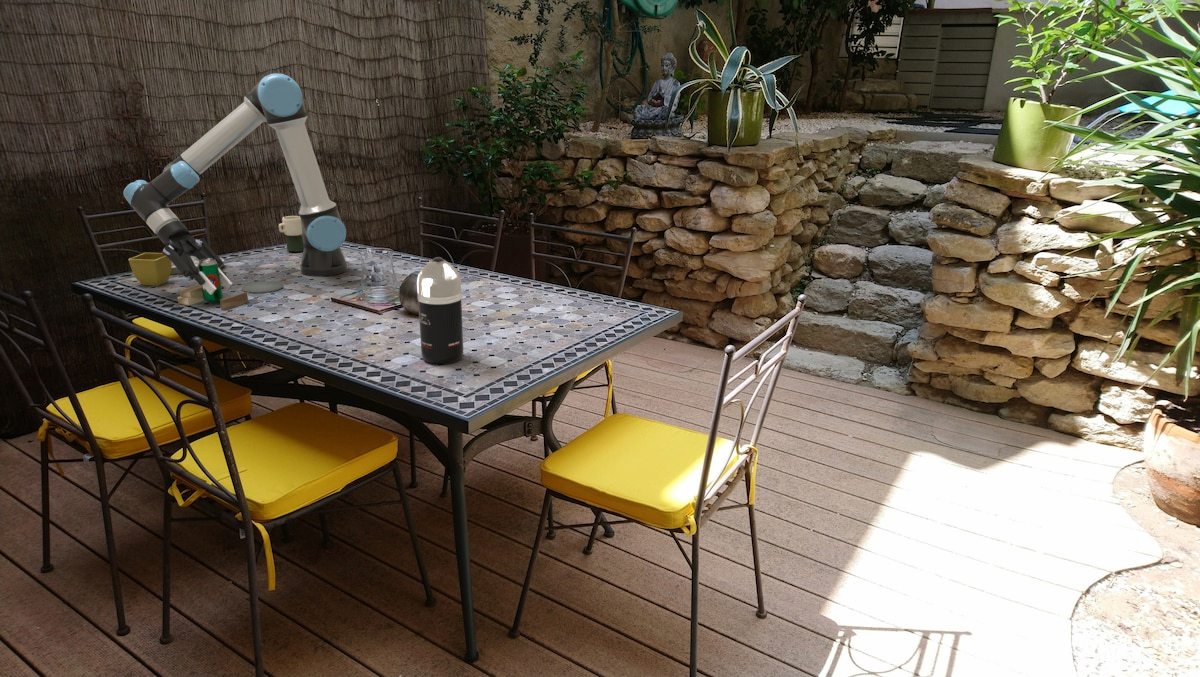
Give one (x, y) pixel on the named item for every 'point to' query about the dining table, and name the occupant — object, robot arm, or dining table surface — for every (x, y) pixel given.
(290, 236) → the character mug
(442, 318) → the black and cream bottle
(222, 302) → the set of wooden blocks
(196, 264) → the brain slice
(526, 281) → the dining table surface
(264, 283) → the pad
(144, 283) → the flower pot
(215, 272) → the soda can
